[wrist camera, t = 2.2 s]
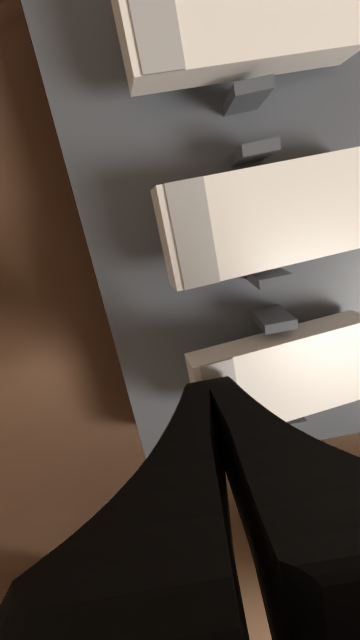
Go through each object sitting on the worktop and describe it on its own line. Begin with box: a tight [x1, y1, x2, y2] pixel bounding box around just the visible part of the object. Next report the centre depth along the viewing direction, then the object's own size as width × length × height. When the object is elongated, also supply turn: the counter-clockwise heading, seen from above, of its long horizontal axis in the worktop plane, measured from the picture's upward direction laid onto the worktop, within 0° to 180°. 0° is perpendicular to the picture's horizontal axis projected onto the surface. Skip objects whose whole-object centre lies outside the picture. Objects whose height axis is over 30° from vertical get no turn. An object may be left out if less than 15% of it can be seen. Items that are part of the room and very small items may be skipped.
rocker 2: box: [150, 146, 360, 292], centre depth 10 cm, size 6×3×1 cm, turn 101°
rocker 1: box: [111, 0, 360, 97], centre depth 8 cm, size 6×3×1 cm, turn 101°
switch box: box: [21, 0, 360, 458], centre depth 11 cm, size 12×18×5 cm, turn 11°
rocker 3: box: [184, 310, 360, 422], centre depth 11 cm, size 6×3×1 cm, turn 101°
